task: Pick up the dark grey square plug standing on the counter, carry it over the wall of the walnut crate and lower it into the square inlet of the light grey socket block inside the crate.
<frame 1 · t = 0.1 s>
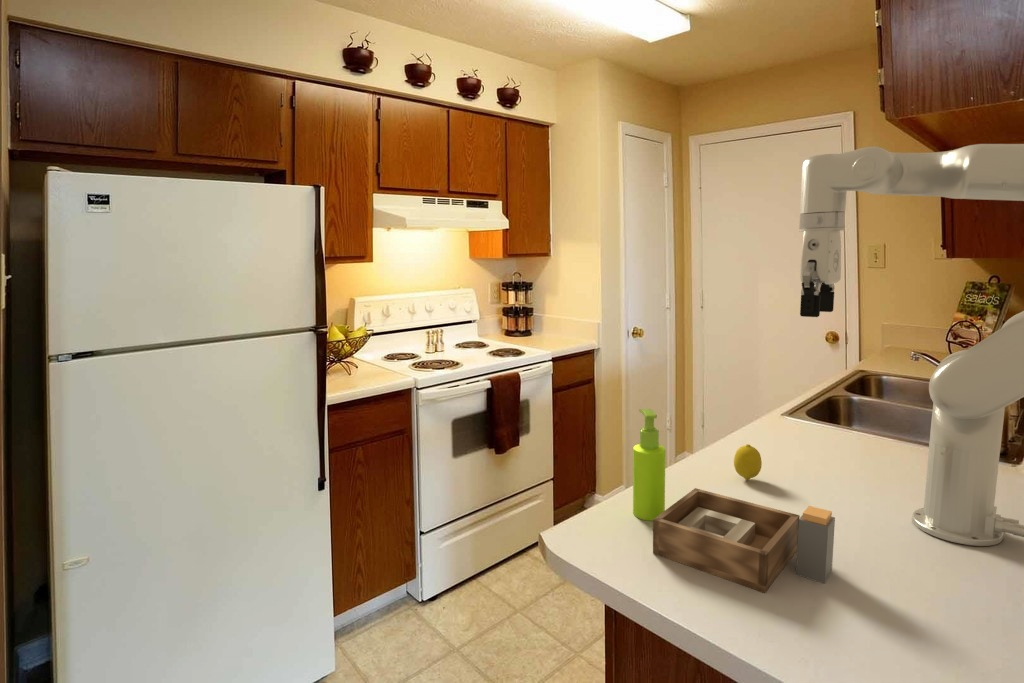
hand: (817, 313, 111), 37 cm above the countertop, tool pointing down, fingers open, 9 cm apart
lemon: (746, 480, 125), on the countertop
plug: (814, 573, 89), on the countertop
crate: (725, 551, 96), on the countertop
soap dispenser: (648, 513, 111), on the countertop
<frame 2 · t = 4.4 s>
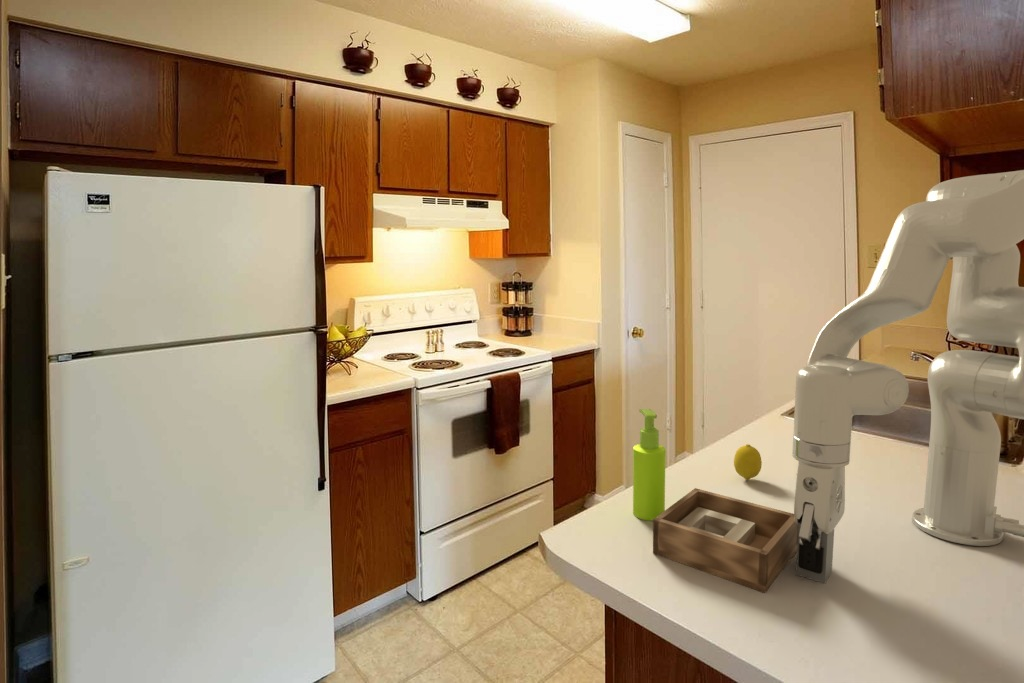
hand: (814, 562, 88), 2 cm above the countertop, tool pointing down, fingers closed on plug, 4 cm apart
plug: (814, 573, 89), on the countertop, touching gripper
everything else where it was.
when the fingers open (5 cm above the countertop, at t = 8.9 s): plug drops 2 cm, resting on crate.
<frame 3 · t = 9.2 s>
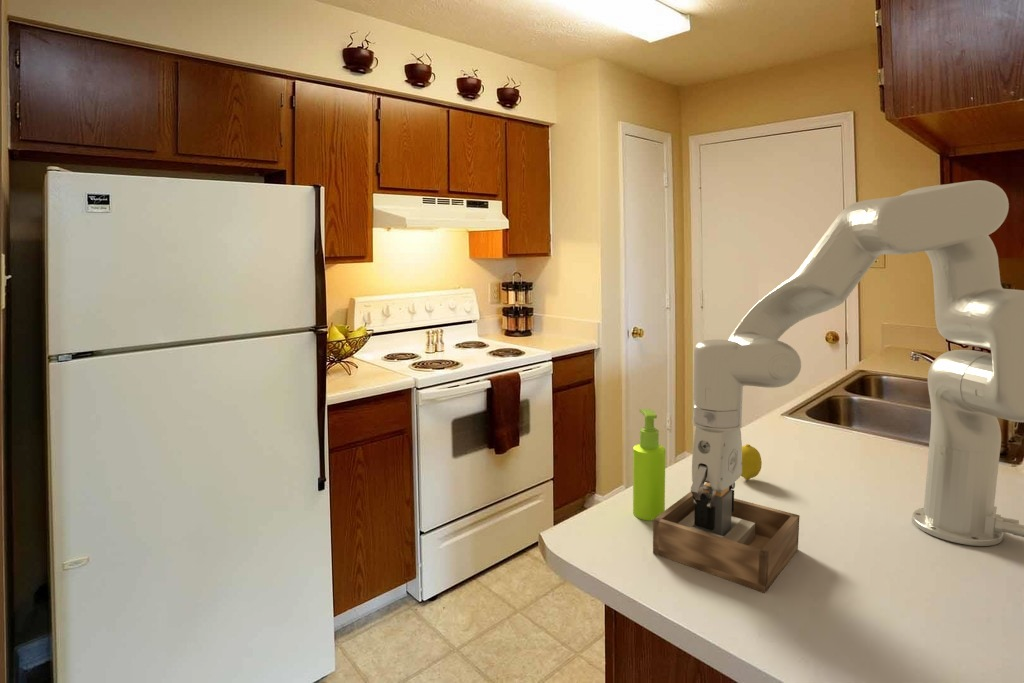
hand: (714, 517, 96), 5 cm above the countertop, tool pointing down, fingers open, 7 cm apart
plug: (714, 541, 97), point 1 cm above the countertop, touching crate
everything else where it was.
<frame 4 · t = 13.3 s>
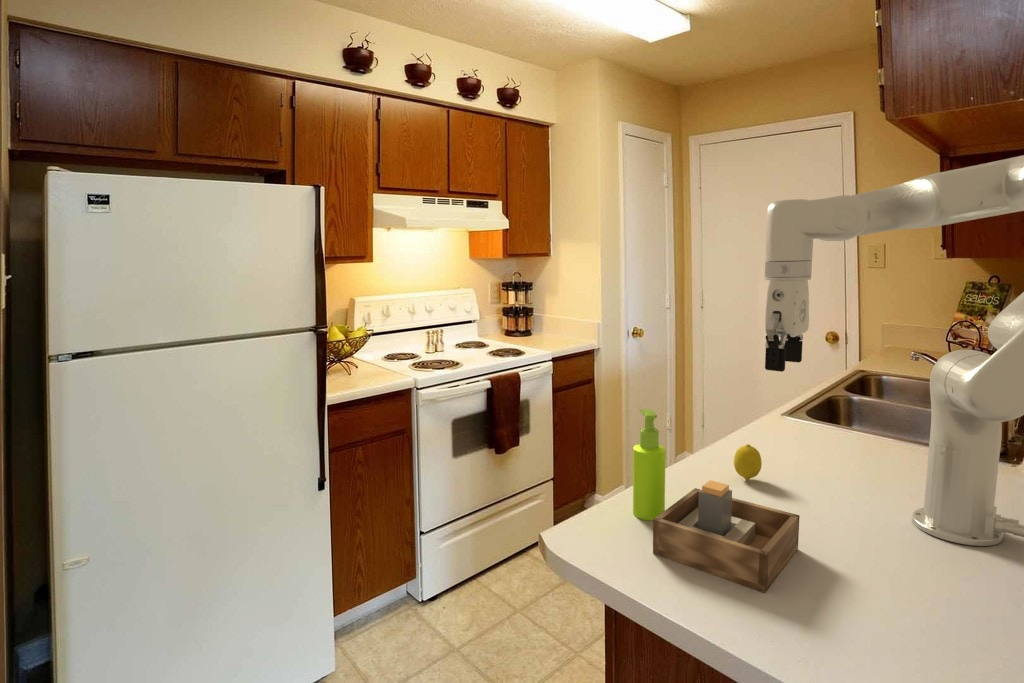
hand: (783, 365, 105), 28 cm above the countertop, tool pointing down, fingers open, 9 cm apart
nothing on the countertop moved.
at the end: plug 0.1 cm from the target spot on the crate, point 1.0 cm above the crate's base; plug tilted 0°; the gripper is holding nothing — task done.
